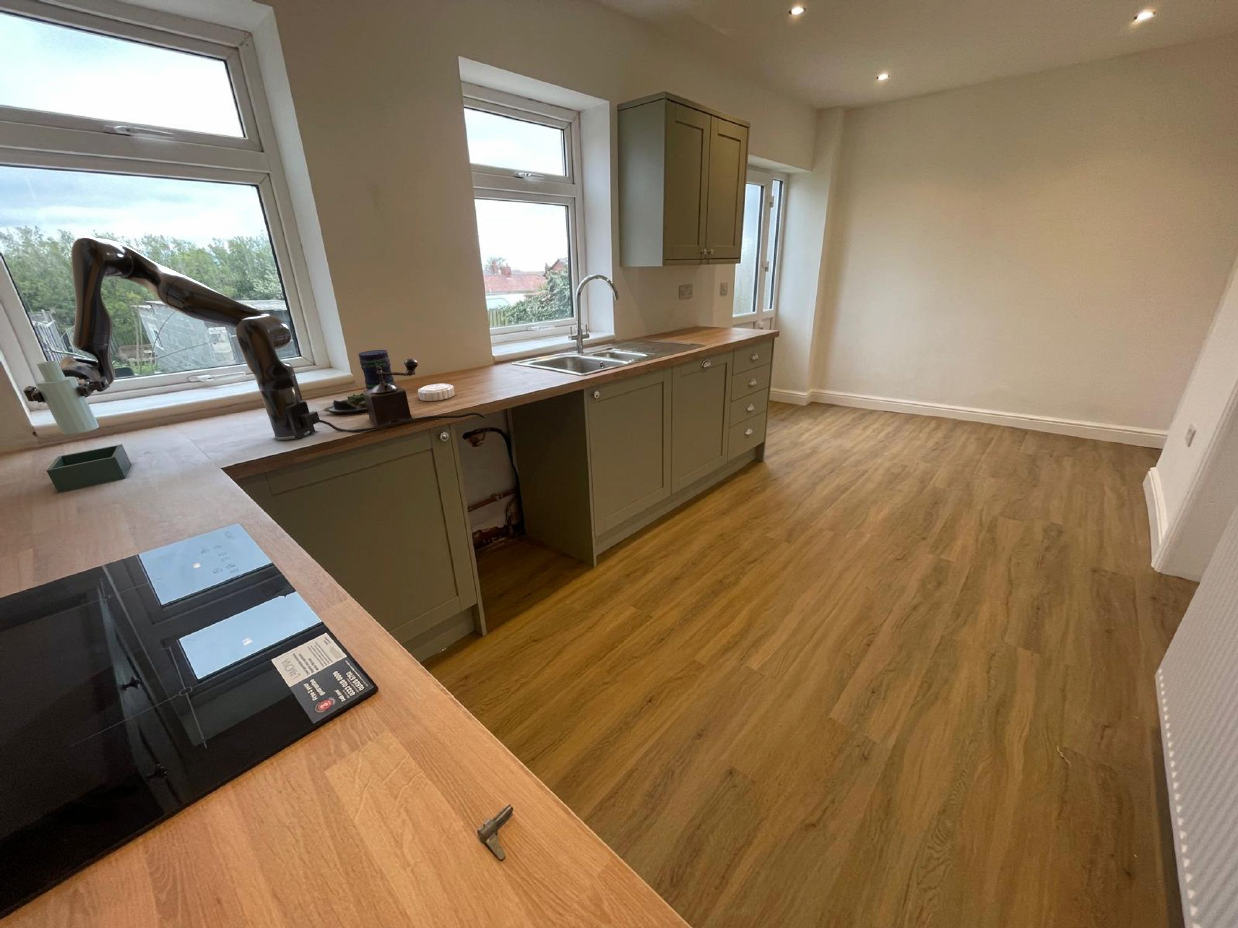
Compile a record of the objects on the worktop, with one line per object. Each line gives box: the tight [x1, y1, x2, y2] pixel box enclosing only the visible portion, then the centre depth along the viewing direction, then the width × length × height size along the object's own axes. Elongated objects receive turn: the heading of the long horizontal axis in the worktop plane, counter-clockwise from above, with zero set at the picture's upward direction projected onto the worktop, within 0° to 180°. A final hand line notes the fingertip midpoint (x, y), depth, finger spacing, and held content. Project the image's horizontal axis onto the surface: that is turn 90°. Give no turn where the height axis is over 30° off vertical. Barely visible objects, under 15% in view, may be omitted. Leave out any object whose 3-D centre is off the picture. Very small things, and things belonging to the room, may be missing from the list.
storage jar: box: [357, 349, 396, 390], centre depth 183 cm, size 10×10×15 cm
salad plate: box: [322, 392, 368, 417], centre depth 168 cm, size 19×18×5 cm
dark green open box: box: [45, 443, 132, 493], centre depth 121 cm, size 12×12×6 cm
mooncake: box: [417, 382, 455, 402], centre depth 176 cm, size 12×12×4 cm
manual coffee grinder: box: [362, 358, 419, 427], centre depth 152 cm, size 16×11×18 cm
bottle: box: [35, 360, 100, 436], centre depth 115 cm, size 6×6×16 cm
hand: (60, 394), depth 112 cm, fingers closed on bottle, 6 cm apart
